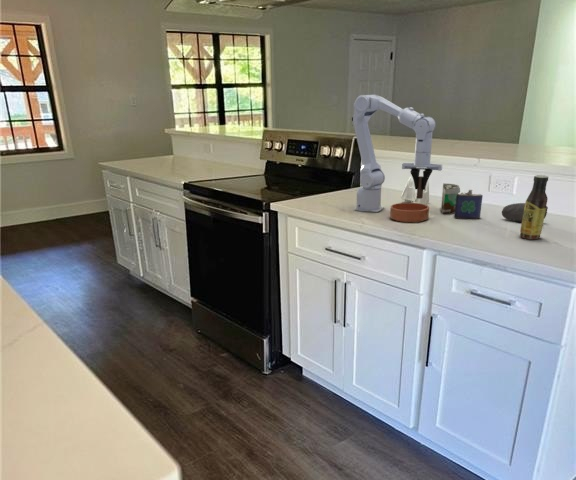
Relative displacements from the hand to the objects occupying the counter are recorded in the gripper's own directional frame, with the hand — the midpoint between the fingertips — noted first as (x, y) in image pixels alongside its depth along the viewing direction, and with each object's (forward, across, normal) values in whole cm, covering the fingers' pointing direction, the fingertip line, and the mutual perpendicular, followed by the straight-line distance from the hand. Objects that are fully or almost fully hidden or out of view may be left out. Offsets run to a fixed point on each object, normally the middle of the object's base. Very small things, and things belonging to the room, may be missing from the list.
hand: (420, 189), depth 191 cm
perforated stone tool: (+11, -37, -4) cm, 38 cm away
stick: (+3, 0, 0) cm, 3 cm away
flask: (+11, -18, -3) cm, 21 cm away
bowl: (+10, +2, +5) cm, 12 cm away
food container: (+11, -10, -12) cm, 19 cm away
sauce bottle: (+11, -40, +17) cm, 45 cm away
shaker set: (+11, +7, -23) cm, 27 cm away
